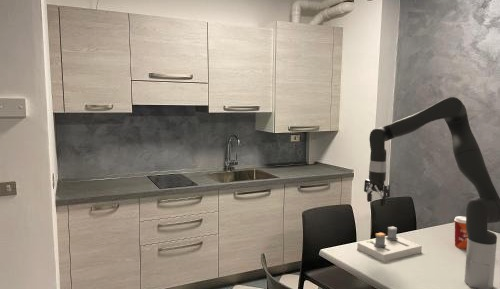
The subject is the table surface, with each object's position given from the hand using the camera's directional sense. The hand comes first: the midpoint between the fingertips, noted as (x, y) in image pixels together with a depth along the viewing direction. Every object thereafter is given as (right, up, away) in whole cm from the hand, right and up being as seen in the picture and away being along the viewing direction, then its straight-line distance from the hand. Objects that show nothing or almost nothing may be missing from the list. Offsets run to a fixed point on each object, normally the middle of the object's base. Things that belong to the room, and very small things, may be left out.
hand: (375, 203), depth 173 cm
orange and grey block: (0, -18, -5) cm, 19 cm away
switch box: (+5, -21, -2) cm, 22 cm away
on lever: (+9, -18, +4) cm, 20 cm away
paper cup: (+43, -21, +3) cm, 48 cm away
